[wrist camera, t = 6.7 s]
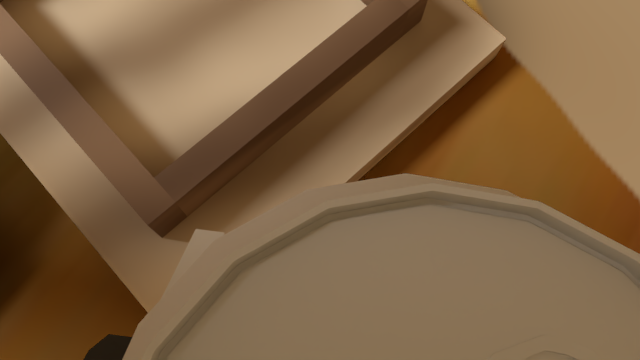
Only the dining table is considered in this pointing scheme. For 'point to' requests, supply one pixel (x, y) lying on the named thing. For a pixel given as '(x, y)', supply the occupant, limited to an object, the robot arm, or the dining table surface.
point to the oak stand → (217, 107)
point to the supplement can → (402, 282)
